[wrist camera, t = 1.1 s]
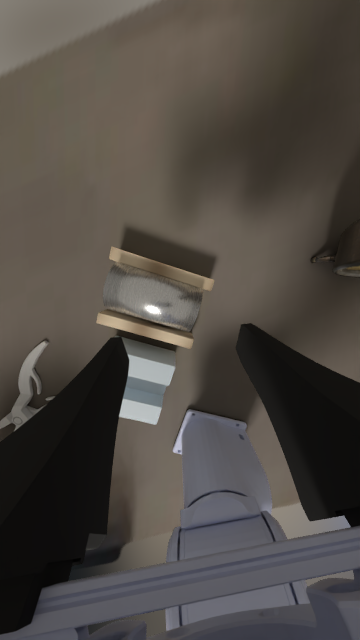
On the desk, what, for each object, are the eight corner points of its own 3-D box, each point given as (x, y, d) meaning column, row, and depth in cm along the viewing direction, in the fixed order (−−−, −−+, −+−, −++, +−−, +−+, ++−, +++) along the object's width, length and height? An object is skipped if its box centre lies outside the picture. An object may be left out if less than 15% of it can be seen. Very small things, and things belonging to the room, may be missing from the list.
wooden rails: (209, 280, 19) (214, 280, 17) (188, 341, 21) (190, 349, 19) (120, 251, 18) (111, 246, 16) (105, 318, 20) (96, 322, 17)
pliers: (99, 392, 21) (32, 456, 23) (105, 385, 22) (41, 445, 24) (36, 342, 19) (-32, 416, 21) (46, 338, 21) (-18, 407, 23)
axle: (196, 290, 20) (206, 285, 15) (185, 328, 20) (191, 335, 15) (126, 268, 19) (112, 255, 14) (115, 308, 19) (98, 309, 14)
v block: (175, 351, 21) (175, 366, 17) (159, 400, 23) (156, 424, 19) (116, 335, 20) (102, 347, 17) (104, 387, 22) (89, 409, 18)
